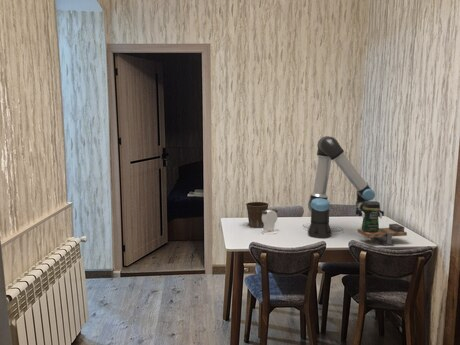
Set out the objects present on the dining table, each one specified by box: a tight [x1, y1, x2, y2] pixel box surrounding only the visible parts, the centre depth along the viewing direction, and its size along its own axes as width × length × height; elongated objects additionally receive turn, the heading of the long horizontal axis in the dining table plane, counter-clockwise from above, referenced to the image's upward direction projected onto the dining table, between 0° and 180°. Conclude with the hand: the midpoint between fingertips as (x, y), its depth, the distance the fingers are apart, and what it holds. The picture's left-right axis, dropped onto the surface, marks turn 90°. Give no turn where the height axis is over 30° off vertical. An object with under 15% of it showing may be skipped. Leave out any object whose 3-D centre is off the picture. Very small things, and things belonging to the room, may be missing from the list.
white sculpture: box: [260, 208, 279, 235], centre depth 261 cm, size 12×11×15 cm
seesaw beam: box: [357, 223, 408, 239], centre depth 238 cm, size 26×12×5 cm, turn 101°
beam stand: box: [369, 233, 395, 247], centre depth 238 cm, size 6×16×8 cm, turn 12°
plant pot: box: [245, 201, 269, 229], centre depth 276 cm, size 16×16×16 cm
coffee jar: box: [361, 200, 381, 232], centre depth 235 cm, size 10×8×19 cm
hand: (372, 215), depth 231 cm, fingers open, 9 cm apart
